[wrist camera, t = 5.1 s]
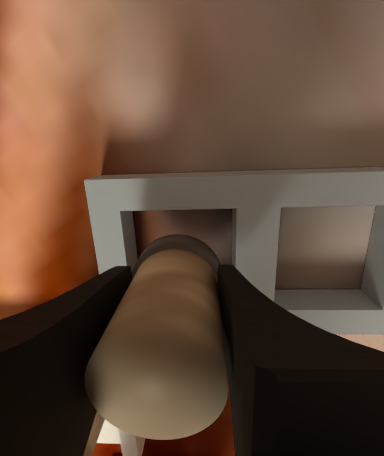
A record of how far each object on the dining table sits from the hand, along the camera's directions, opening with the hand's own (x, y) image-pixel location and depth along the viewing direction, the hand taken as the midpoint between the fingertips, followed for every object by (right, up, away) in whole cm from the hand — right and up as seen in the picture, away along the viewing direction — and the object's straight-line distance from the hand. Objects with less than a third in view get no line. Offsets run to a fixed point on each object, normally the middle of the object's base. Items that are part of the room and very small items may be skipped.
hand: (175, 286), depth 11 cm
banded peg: (0, 0, +1) cm, 1 cm away
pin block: (+4, +1, +4) cm, 6 cm away
